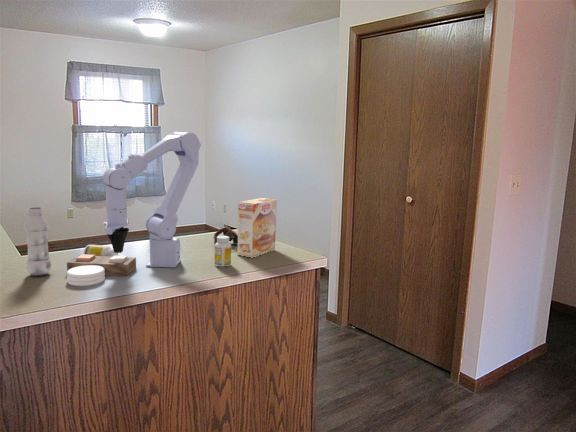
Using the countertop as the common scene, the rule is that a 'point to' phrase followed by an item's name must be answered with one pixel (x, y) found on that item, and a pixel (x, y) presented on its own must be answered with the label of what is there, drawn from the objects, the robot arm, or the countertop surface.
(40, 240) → the plastic bottle
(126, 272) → the switch box
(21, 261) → the countertop surface
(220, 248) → the supplement bottle
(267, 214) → the coffeecake box
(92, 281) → the coaster
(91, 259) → the key terracotta
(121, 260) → the key offwhite
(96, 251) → the supplement bottle
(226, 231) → the dark brown tangled clump
